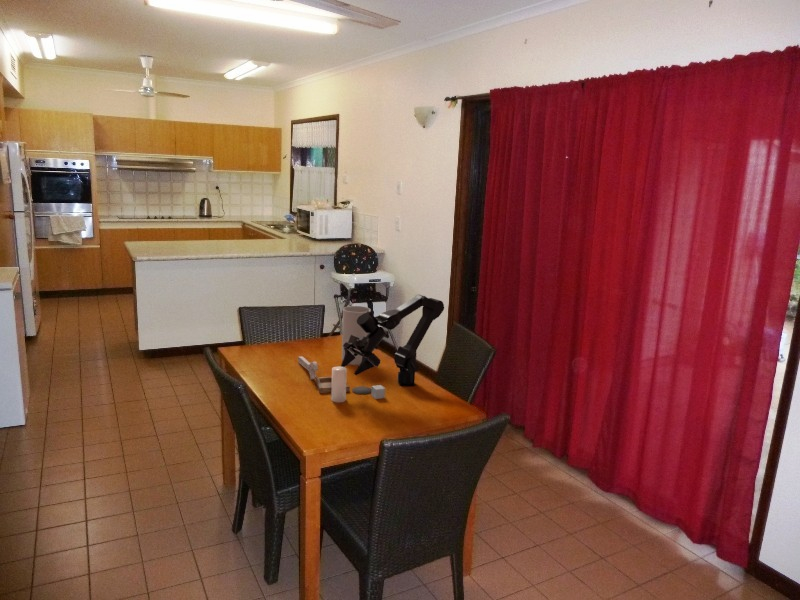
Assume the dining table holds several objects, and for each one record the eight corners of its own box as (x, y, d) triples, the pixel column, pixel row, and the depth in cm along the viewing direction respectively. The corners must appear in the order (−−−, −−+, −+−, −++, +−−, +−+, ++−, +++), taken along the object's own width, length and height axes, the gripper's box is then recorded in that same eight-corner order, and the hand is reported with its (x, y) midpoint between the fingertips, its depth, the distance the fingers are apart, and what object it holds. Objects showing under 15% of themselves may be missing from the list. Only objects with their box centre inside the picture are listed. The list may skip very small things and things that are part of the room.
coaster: (371, 387, 237) (371, 386, 237) (372, 394, 229) (372, 393, 229) (352, 387, 236) (352, 386, 236) (352, 394, 228) (352, 393, 228)
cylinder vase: (373, 363, 267) (375, 310, 262) (349, 367, 260) (351, 313, 255) (359, 355, 277) (361, 305, 272) (336, 359, 270) (338, 307, 265)
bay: (344, 381, 243) (344, 376, 242) (349, 391, 231) (349, 386, 231) (315, 382, 239) (316, 377, 239) (319, 392, 228) (319, 387, 228)
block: (380, 394, 230) (381, 384, 229) (384, 398, 227) (385, 388, 226) (371, 395, 228) (371, 386, 228) (375, 399, 225) (375, 389, 224)
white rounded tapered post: (345, 396, 226) (346, 366, 223) (345, 402, 220) (346, 371, 217) (331, 396, 225) (332, 366, 222) (331, 402, 219) (331, 371, 217)
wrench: (302, 367, 264) (318, 382, 237) (298, 368, 264) (314, 382, 236) (301, 350, 264) (318, 363, 236) (297, 350, 263) (313, 363, 235)
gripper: (347, 322, 230) (323, 352, 225) (375, 333, 216) (349, 366, 211) (363, 338, 236) (339, 368, 232) (391, 350, 222) (366, 382, 217)
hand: (348, 371), depth 223 cm, fingers open, 9 cm apart
